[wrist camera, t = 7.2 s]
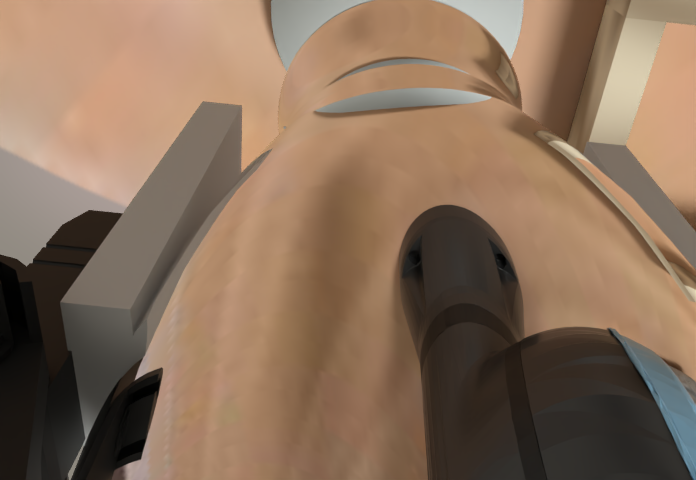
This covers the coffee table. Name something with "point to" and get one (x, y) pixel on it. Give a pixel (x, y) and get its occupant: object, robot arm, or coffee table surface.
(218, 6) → the coffee table surface
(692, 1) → the frame
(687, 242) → the robot arm
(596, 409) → the silver tall cylindrical piece
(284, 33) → the white glossy dome
